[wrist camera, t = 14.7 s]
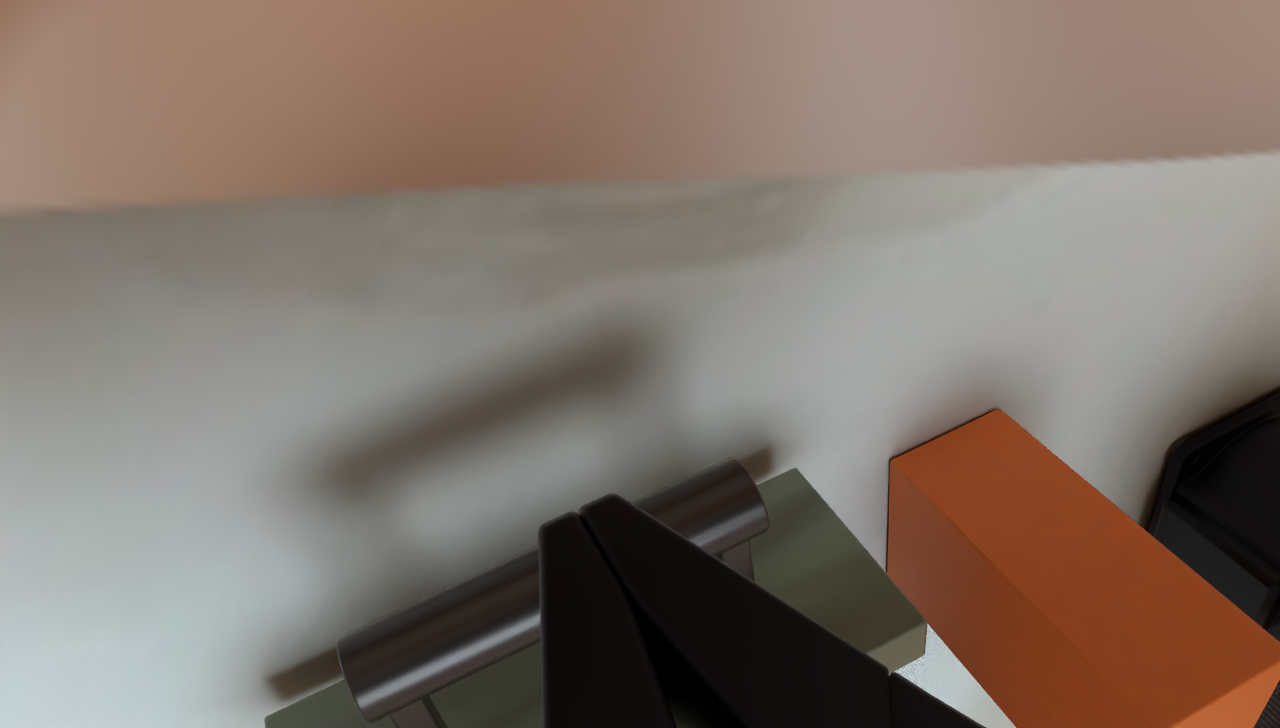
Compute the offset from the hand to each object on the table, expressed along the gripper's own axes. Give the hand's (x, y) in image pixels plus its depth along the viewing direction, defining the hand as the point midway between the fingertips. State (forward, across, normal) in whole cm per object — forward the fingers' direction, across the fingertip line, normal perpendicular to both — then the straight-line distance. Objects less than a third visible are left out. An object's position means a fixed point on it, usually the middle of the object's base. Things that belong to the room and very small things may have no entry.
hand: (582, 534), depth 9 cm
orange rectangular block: (+7, -11, +14) cm, 19 cm away
